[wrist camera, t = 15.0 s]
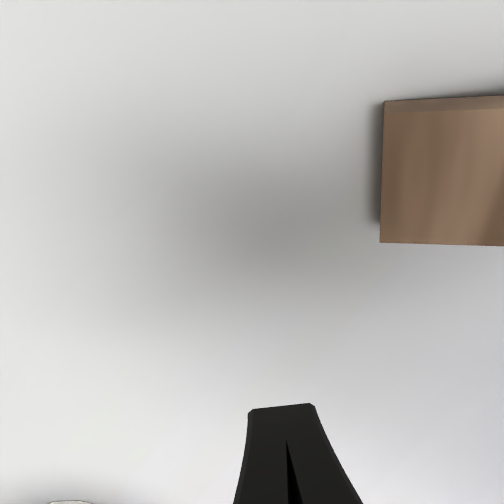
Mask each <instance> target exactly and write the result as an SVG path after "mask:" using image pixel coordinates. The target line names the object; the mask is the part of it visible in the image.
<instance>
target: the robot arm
mask: <svg viewBox="0 0 504 504" xmlns="http://www.w3.org/2000/svg"><path fill="white" fill-rule="evenodd" d="M233 504H363V503H362V501H361V499H360V497H359V496H358V494H357V492H356V490H355V489H354V487H353V485H352V484H351V482H350V480H349V478H348V477H347V475H346V473H345V471H344V469H343V468H342V466H341V464H340V462H339V460H338V458H337V456H336V454H335V452H334V450H333V448H332V446H331V444H330V442H329V440H328V438H327V436H326V434H325V431H324V429H323V427H322V424H321V422H320V419H319V417H318V414H317V411H316V408H315V406H314V405H312V404H310V403H305V404H295V405H286V406H277V407H268V408H259V409H252V410H251V411H250V412H249V413H248V426H247V436H246V444H245V450H244V456H243V461H242V467H241V472H240V477H239V481H238V485H237V489H236V493H235V498H234V502H233Z"/></svg>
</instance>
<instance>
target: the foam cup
mask: <svg viewBox="0 0 504 504" xmlns="http://www.w3.org/2000/svg"><path fill="white" fill-rule="evenodd" d="M49 504H91V503H87V502H82V501H59V502H52V503H49Z"/></svg>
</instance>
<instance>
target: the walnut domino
mask: <svg viewBox="0 0 504 504" xmlns="http://www.w3.org/2000/svg"><path fill="white" fill-rule="evenodd" d="M380 242H381V243H414V244H447V245H480V246H504V95H501V96H480V97H460V98H440V99H419V100H399V101H385V105H384V125H383V155H382V185H381V215H380Z"/></svg>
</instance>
